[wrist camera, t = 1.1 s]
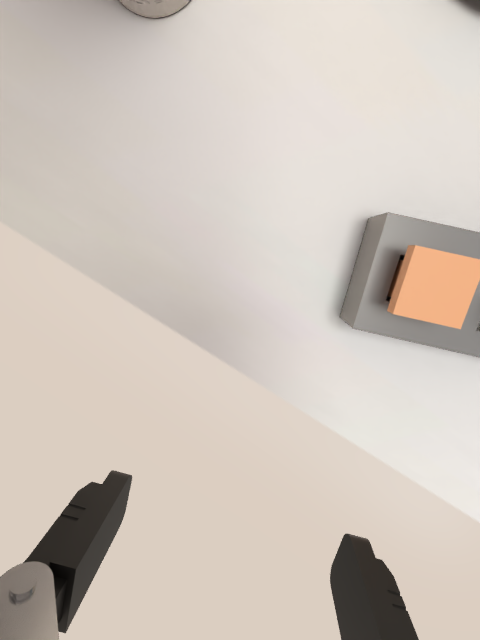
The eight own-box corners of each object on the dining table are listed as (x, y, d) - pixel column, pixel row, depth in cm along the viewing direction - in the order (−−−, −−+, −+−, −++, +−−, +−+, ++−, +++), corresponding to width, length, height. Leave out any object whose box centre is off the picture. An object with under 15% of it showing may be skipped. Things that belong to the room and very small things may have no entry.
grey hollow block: (368, 218, 31) (388, 212, 27) (554, 258, 31) (608, 260, 26) (339, 316, 34) (352, 328, 29) (512, 356, 33) (555, 374, 28)
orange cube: (390, 245, 28) (415, 245, 24) (449, 258, 28) (486, 260, 23) (372, 303, 29) (392, 314, 25) (428, 316, 29) (460, 329, 25)
